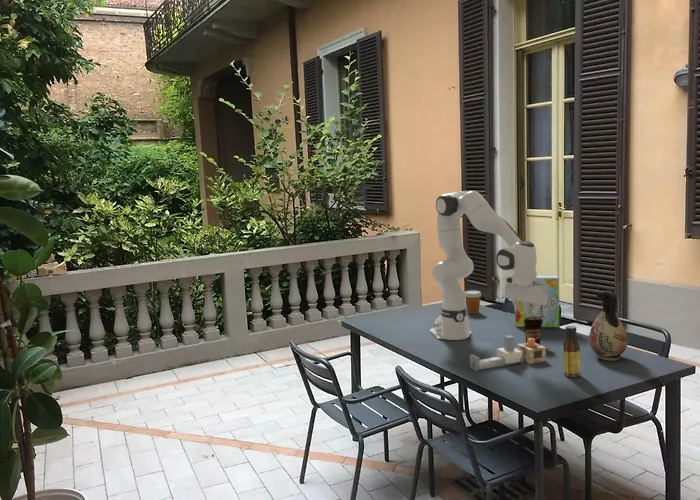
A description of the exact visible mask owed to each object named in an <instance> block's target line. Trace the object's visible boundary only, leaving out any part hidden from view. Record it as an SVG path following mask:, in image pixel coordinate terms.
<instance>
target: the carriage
mask: <svg viewBox="0 0 700 500" xmlns="http://www.w3.org/2000/svg"><path fill="white" fill-rule="evenodd" d="M503 337H504V338H503V347H500V348H496V355H497V357H500V356H501V357H503V358H505V363H506V364H507V363H513V362H519V361H520V358H521V357H522V351H519V350H517V349H515V336H513V335H510V334H509V335H508V334H507V335H504V336H503Z"/></svg>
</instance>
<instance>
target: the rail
mask: <svg viewBox="0 0 700 500" xmlns="http://www.w3.org/2000/svg"><path fill="white" fill-rule="evenodd" d="M514 348H515V349H517V350H519V351H522V357H521V358H520V361H519V362H513V363H507V364H506V363H505V358H503V357H501V356H500V357H498V356H496V357H495V356H494V357H490V358H482V359H480V357H479V356H476V355H475V354H469V368H470V369H472V370H473V369H474V370H473V371H475V372H480V371H479V369H481V370H484V369H485V368H486V369H492V368H497V367H502V366H503V367H504V366H508V365H514V364H515V365H516V364H524V363H525V361H524V350H522V349H520V348H518V347H517V346H516V347H515V346H514ZM491 367H492V368H491Z"/></svg>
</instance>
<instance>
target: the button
mask: <svg viewBox="0 0 700 500" xmlns="http://www.w3.org/2000/svg"><path fill="white" fill-rule="evenodd" d="M527 347H530V348H532V347H535V339H534V338H528V339H527Z"/></svg>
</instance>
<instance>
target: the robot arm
mask: <svg viewBox="0 0 700 500" xmlns="http://www.w3.org/2000/svg"><path fill="white" fill-rule="evenodd" d="M435 209H436V211H437V218H436V229H437V238H438V247H439V249H441V250H443V253H444V254H445V258H446V259H443V260H441V261H439V262H437V263H436V264H434V266H433V267H432V269H431V275H432V277H433V279H434V280H435V282H437V283H438V285H439V287H440V290H441V299H442V302H441V304H442V307H441V308H440V315H439V316H438V317H437V318H435V320H434V323H433V327H432V328H430V329H429V332H430V333H431V334H432V335H433V336H434V337H435V338H436V339H437V340H449V341H460V340H466V339H468V338H469V337H470V336H471V335H472V334H473V333H472V331H471V330H470V322H469V318H468V317H467V307H466V299H465V291H464V290H463V289H462V288H461V285H460V280H462V279H464V278H467V277H468V276H470V275H471V274H473V272H474V268H475V267H474V262H473V261H472V259H471V258H470V257H469V256H468V255H467V253H466V251H465V249H464V245H463V239H462V231H461V223H460V218H461V217H462V216H465V217H467V218H468V220H469V221H470V223H471V225H472V226H473V227H474V228H475V229H476V230H477V231H479V232H480V231H481V232H484V233H488V234H489V233H490V234H494V235H497V236H498V237H499V236H500V238H502V239H503V241H504V242H505V243H506V244H507V245H508V247H504V248H502V249H499V250H498V252H497V254H496V255H495V256H496V257H495V261H496V264H497V266H498V267H499V268H500V270H503V271H510V270H511V271H512V270H513V271H514V275H511V276H506V277H505V284H504V297H505V298H506V299H509V300H511V303H512V305H513V306H514V311H515V310H520V306H518V303H517V301H522V302H527V303H532V304H534V306H535V308H534V310H532V314H537V313H538V309H539V307H540V305H545V304H547V302H548V297H547V290H546V286H545V284H544V283H542V282H537V270H536V269H537V268H536V266H537V263H538V262H537V248H536V246H535V244H534V243H533V242H530V241H526V240H523V239H522V237H520V235H519V234H518V233H517V232H516V231H515V229H514V228H513V227H512V226H511V224H509V222H508V221H506V220H505V219H504V218H502V217H501V216H500V215H499V214H498V213H497V212H496V211H495V210H494V209H493V208H492V207H491V205H490V204H489V202H488V201H487V199H485V198H484V195H482V194H481V193H480V192H478V191H476V190H461V191H455V192H454V191H453V192H450V193H443V194H440V195H439V196H438V197H437V199H436V201H435Z"/></svg>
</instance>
